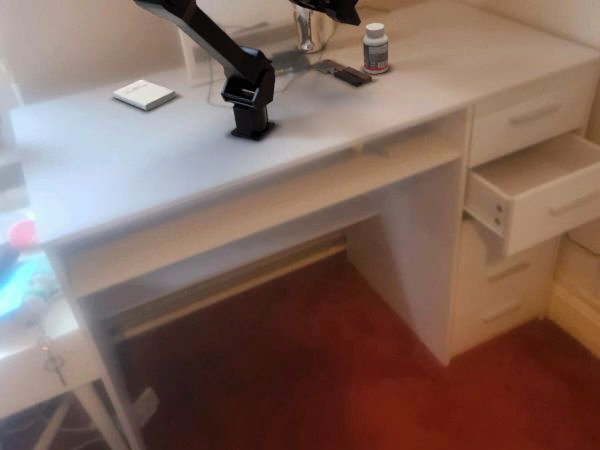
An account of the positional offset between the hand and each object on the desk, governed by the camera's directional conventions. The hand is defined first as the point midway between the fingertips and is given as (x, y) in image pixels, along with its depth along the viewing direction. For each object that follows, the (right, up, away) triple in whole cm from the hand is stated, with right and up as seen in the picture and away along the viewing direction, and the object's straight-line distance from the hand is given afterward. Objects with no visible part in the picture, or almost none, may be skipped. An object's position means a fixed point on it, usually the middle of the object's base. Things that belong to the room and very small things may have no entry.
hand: (345, 18), depth 123 cm
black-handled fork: (-1, -9, +11) cm, 14 cm away
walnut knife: (+1, -8, +12) cm, 14 cm away
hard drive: (-44, -14, +11) cm, 47 cm away
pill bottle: (+8, -8, +11) cm, 16 cm away
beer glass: (-7, +1, +25) cm, 26 cm away
